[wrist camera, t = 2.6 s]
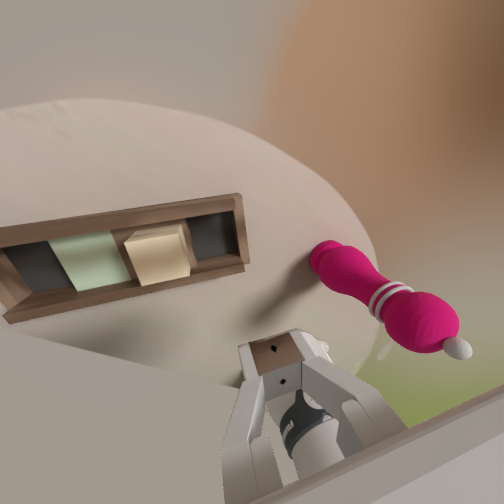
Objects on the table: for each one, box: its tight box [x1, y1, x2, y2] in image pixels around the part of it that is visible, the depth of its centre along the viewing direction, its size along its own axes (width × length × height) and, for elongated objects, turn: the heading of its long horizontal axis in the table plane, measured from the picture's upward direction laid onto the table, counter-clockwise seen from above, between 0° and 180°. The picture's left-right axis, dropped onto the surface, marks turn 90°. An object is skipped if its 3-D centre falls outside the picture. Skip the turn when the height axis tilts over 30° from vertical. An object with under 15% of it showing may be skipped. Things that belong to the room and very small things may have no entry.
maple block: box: [124, 224, 191, 286], centre depth 22 cm, size 5×5×4 cm
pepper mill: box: [310, 240, 472, 360], centre depth 25 cm, size 7×7×20 cm
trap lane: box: [0, 193, 250, 324], centre depth 23 cm, size 9×28×4 cm, turn 96°
